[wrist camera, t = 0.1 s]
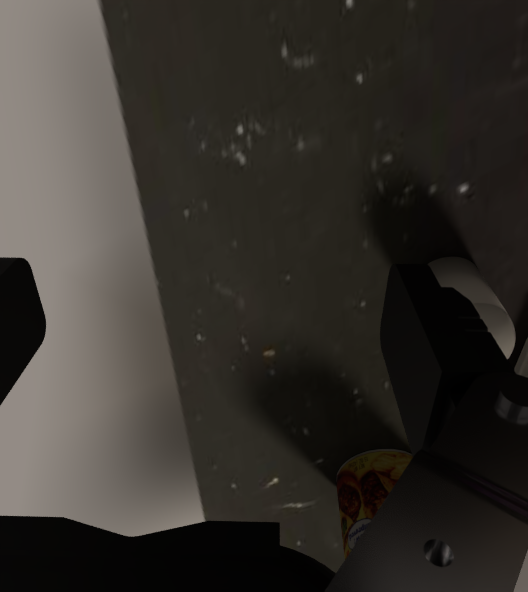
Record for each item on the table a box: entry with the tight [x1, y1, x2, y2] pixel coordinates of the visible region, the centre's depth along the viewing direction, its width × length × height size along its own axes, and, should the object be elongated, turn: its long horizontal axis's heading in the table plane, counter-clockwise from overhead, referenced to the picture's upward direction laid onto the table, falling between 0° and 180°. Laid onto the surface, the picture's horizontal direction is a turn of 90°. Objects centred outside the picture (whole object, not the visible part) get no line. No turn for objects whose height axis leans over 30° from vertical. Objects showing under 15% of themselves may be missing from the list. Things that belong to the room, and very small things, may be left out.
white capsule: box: [427, 256, 516, 360], centre depth 28 cm, size 4×4×7 cm
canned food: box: [336, 449, 413, 559], centre depth 37 cm, size 8×8×12 cm
